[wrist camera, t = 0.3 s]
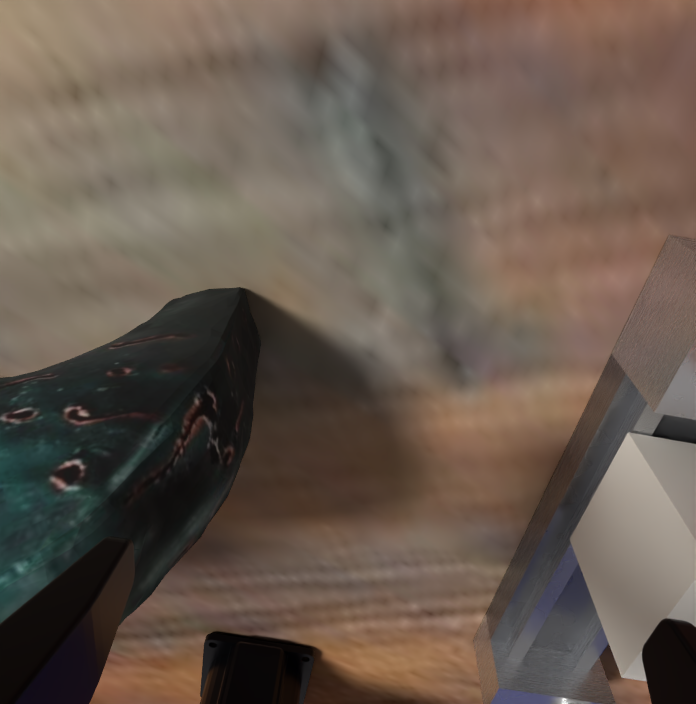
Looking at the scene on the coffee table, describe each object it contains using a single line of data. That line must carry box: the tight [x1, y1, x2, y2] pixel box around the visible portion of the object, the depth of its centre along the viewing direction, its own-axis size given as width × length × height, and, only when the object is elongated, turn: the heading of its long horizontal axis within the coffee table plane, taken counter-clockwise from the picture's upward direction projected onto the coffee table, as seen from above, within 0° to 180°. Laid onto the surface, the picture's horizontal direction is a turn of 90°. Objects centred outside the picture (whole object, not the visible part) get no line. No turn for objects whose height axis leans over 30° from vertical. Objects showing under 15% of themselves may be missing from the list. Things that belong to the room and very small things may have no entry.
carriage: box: [570, 432, 696, 681], centre depth 20 cm, size 6×5×6 cm
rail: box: [473, 235, 696, 704], centre depth 24 cm, size 24×6×4 cm, turn 170°
